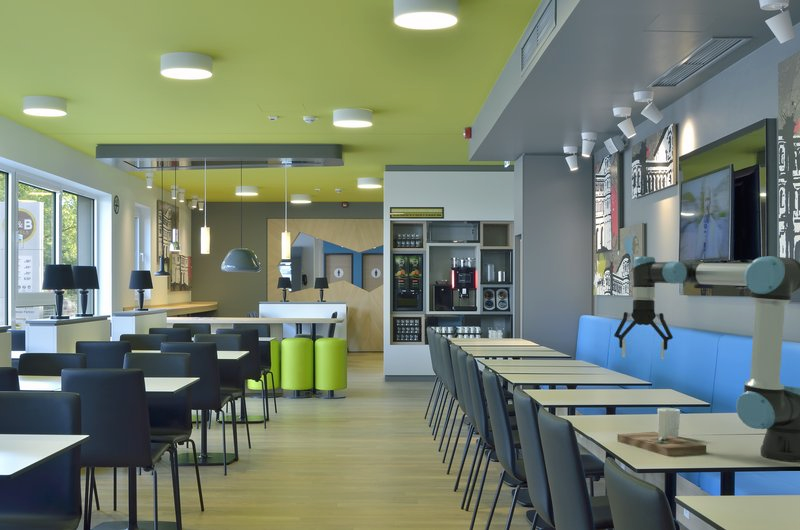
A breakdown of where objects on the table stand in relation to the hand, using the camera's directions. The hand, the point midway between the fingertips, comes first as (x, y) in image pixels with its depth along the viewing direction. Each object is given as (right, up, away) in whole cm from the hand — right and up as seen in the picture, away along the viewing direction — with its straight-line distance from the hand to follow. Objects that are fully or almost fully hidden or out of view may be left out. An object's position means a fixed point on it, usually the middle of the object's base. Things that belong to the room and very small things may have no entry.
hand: (643, 358), depth 302 cm
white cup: (+10, -29, +3) cm, 31 cm away
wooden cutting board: (+1, -28, -17) cm, 33 cm away
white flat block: (+1, -25, -19) cm, 32 cm away
